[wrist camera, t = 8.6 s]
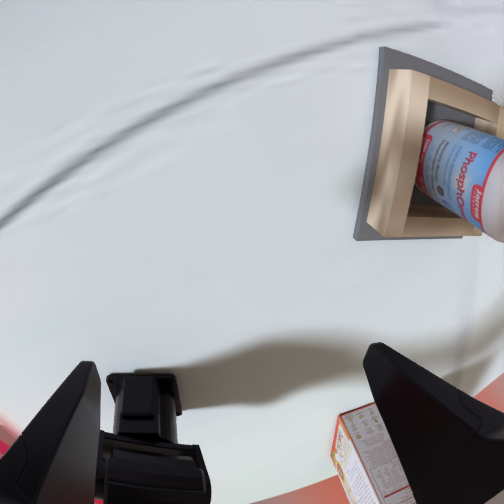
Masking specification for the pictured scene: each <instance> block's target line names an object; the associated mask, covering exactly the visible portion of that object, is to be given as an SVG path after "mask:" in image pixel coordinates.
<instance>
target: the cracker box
mask: <svg viewBox="0 0 504 504" xmlns="http://www.w3.org/2000/svg"><path fill="white" fill-rule="evenodd" d="M331 458H332V461H333V463H334V466H335V468H336V471H337V473H338V475H339V478H340V480H341V483H342V485H343V487H344V489H345V492H346V495H347V497H348V499H349V502H350V504H416V501H415V499H414V496H413V494H412V493H413V492H412V491H411V488H410V486H409V483H408V480H407V478H406V475H405V473H404V470H403V468H402V465H401V463H400V460H399V458H398V456H397V453H396V451H395V448H394V446H393V443H392V441H391V439H390V436H389V434H388V432H387V429H386V427H385V424H384V422H383V420H382V417H381V415H380V413H379V411H378V408H377V406H376V403H372V404H369V405H367V406H364V407H361V408H359V409H356V410H353V411H350V412H347V413H344V414H342V415H339V416H338V420H337V425H336V431H335V436H334V441H333V446H332V451H331Z"/></svg>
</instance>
